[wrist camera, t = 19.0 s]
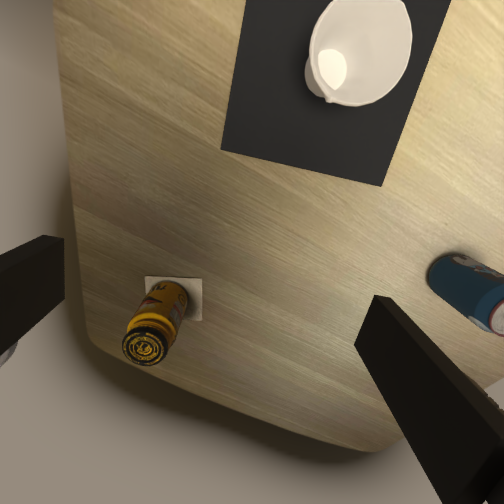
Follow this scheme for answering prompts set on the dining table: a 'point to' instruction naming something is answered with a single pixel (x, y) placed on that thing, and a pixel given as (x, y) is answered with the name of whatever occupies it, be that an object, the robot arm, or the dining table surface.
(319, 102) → the mat
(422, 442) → the robot arm
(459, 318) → the dining table surface
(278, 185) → the dining table surface
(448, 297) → the soda can
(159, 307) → the condiment
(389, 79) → the cup
